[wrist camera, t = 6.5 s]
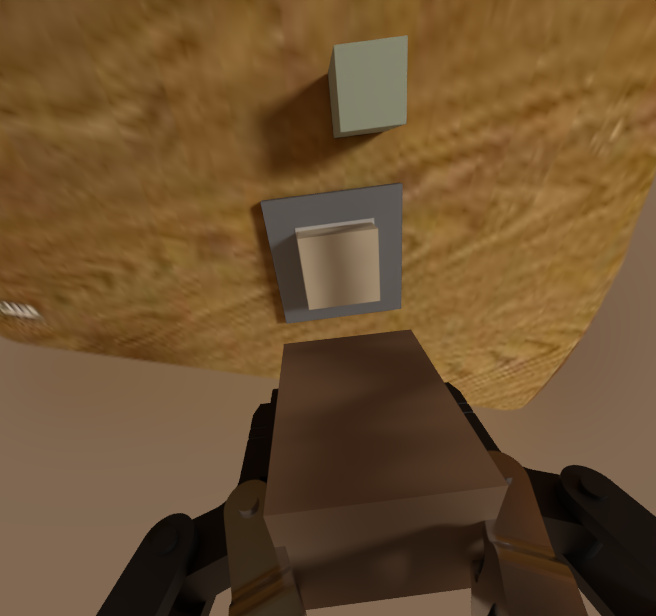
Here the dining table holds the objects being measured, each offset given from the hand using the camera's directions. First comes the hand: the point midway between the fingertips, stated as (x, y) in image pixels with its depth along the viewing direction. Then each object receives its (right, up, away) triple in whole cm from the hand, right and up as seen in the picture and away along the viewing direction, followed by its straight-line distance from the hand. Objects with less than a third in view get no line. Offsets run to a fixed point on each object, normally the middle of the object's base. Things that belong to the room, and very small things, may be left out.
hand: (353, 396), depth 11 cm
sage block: (+1, +21, +12) cm, 24 cm away
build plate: (0, +9, +18) cm, 20 cm away
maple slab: (0, +8, +17) cm, 19 cm away
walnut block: (0, 0, +1) cm, 1 cm away
